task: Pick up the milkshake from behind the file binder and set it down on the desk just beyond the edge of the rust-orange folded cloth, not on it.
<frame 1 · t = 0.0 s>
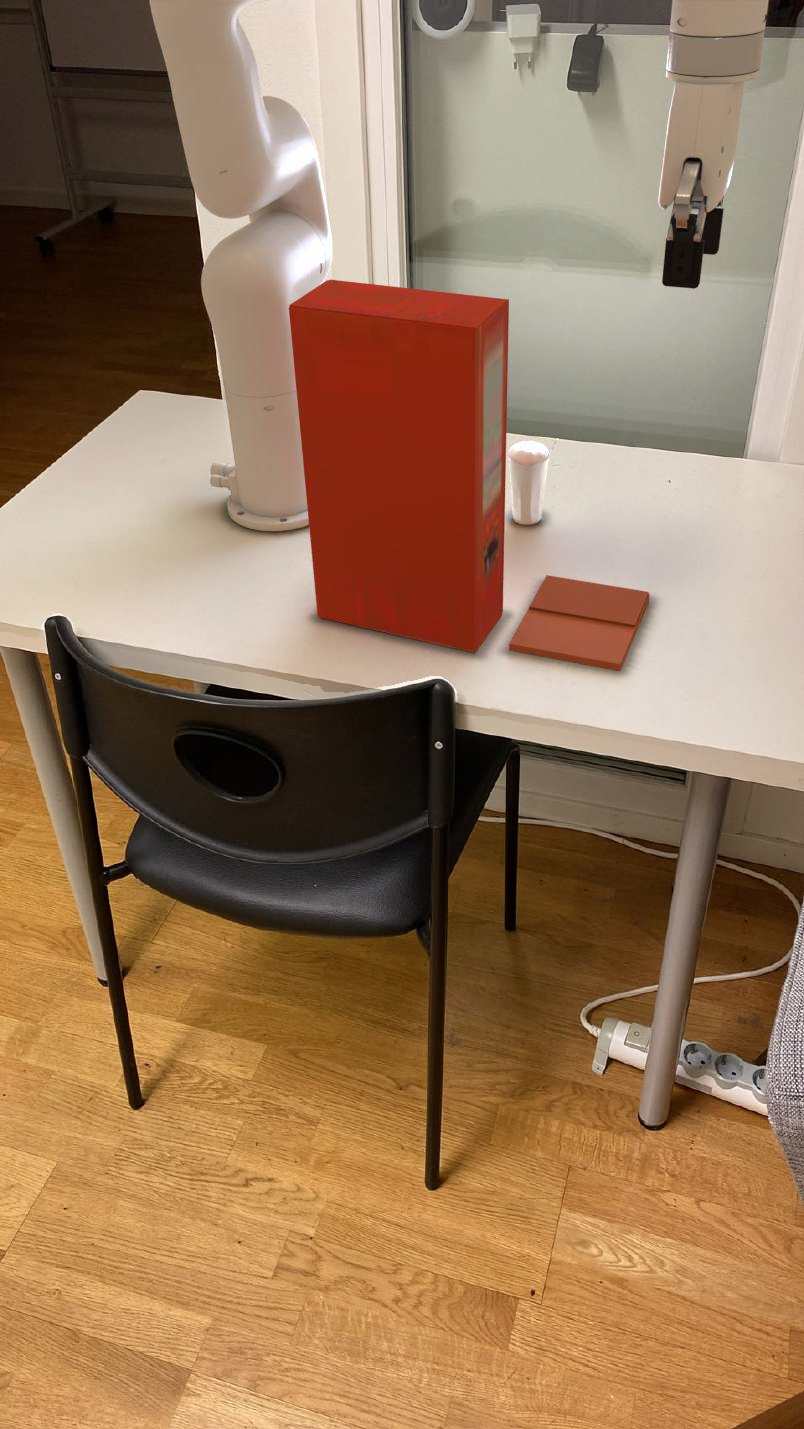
hand: (690, 269, 107), 31 cm above the table, tool pointing down, fingers open, 9 cm apart
cloth: (580, 624, 118), on the table
milkshake: (530, 520, 136), on the table
file binder: (410, 617, 121), on the table
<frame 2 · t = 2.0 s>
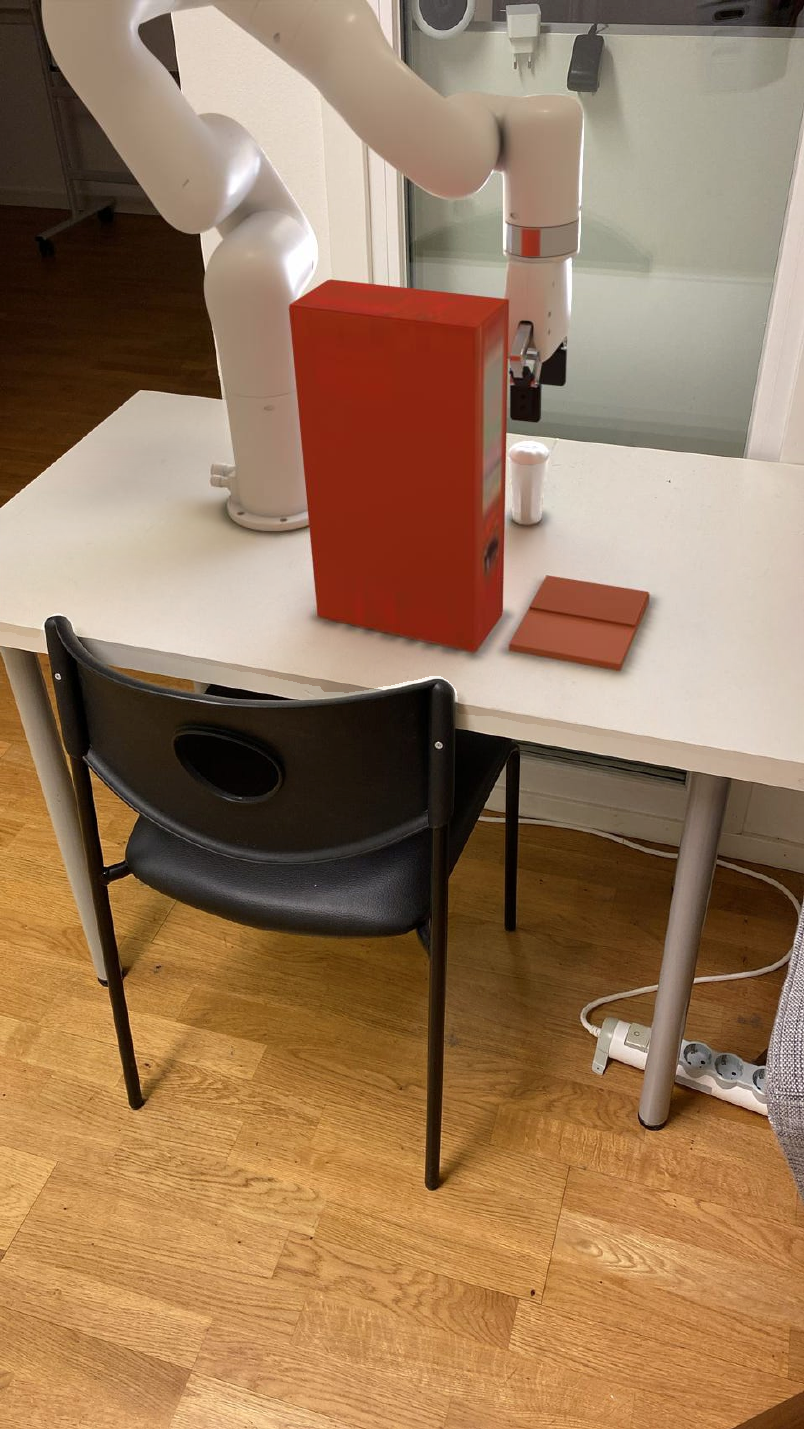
hand: (538, 401, 127), 14 cm above the table, tool pointing down, fingers open, 9 cm apart
nothing on the table moved.
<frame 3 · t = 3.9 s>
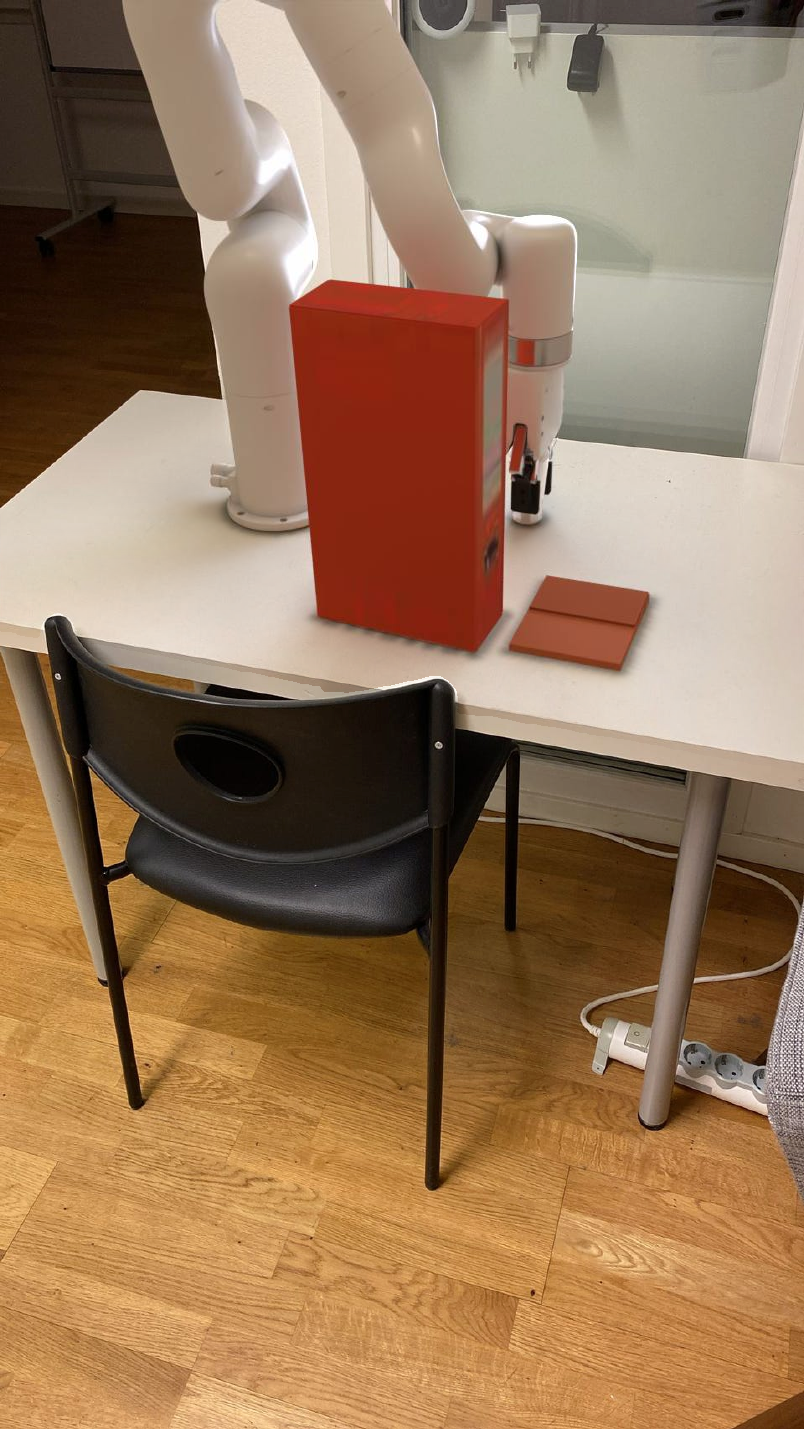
hand: (531, 500, 134), 2 cm above the table, tool pointing down, fingers closed on milkshake, 4 cm apart
milkshake: (530, 520, 135), on the table, touching gripper
everything else where it was.
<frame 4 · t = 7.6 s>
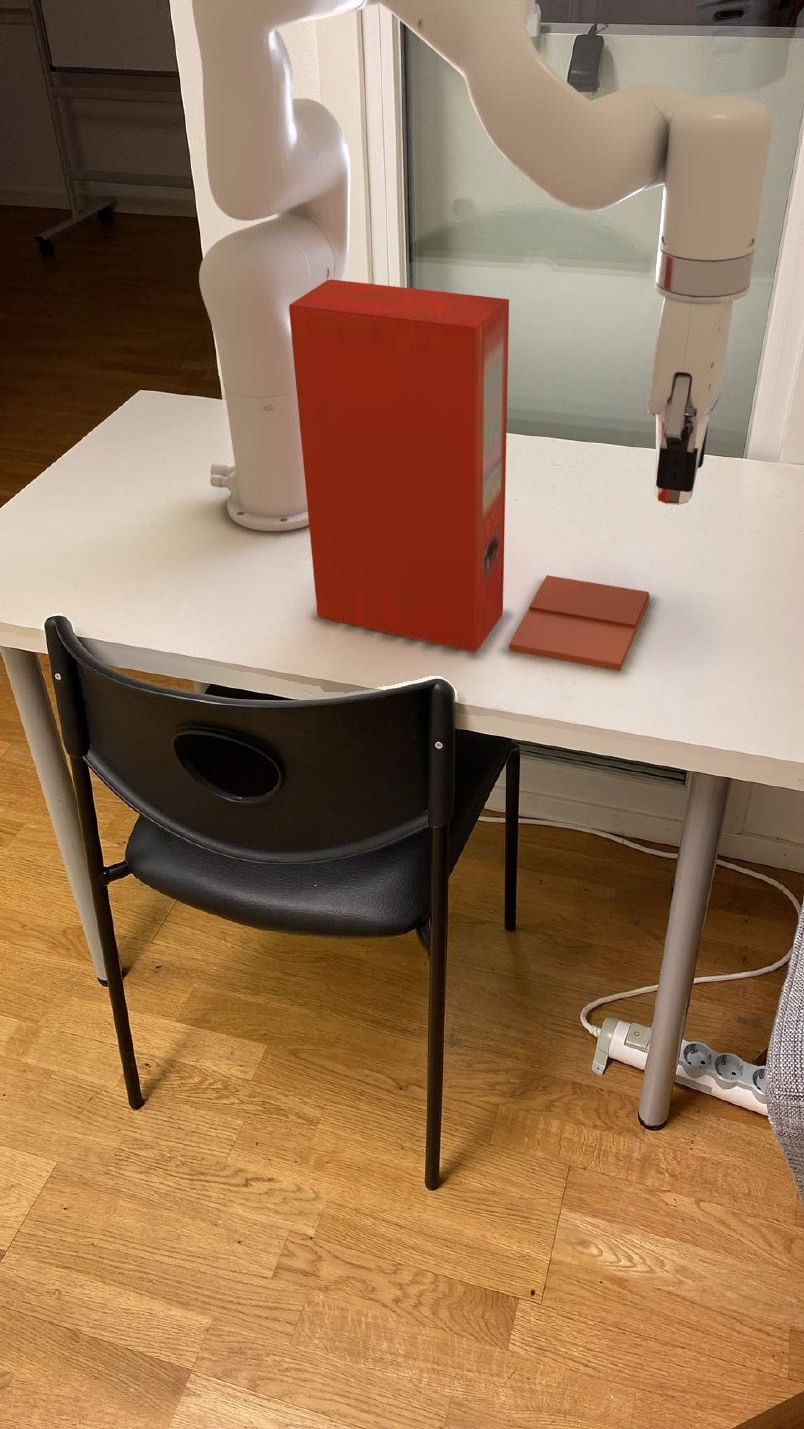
hand: (679, 474, 106), 17 cm above the table, tool pointing down, fingers closed on milkshake, 4 cm apart
milkshake: (677, 499, 108), point 14 cm above the table, touching gripper
everything else where it was.
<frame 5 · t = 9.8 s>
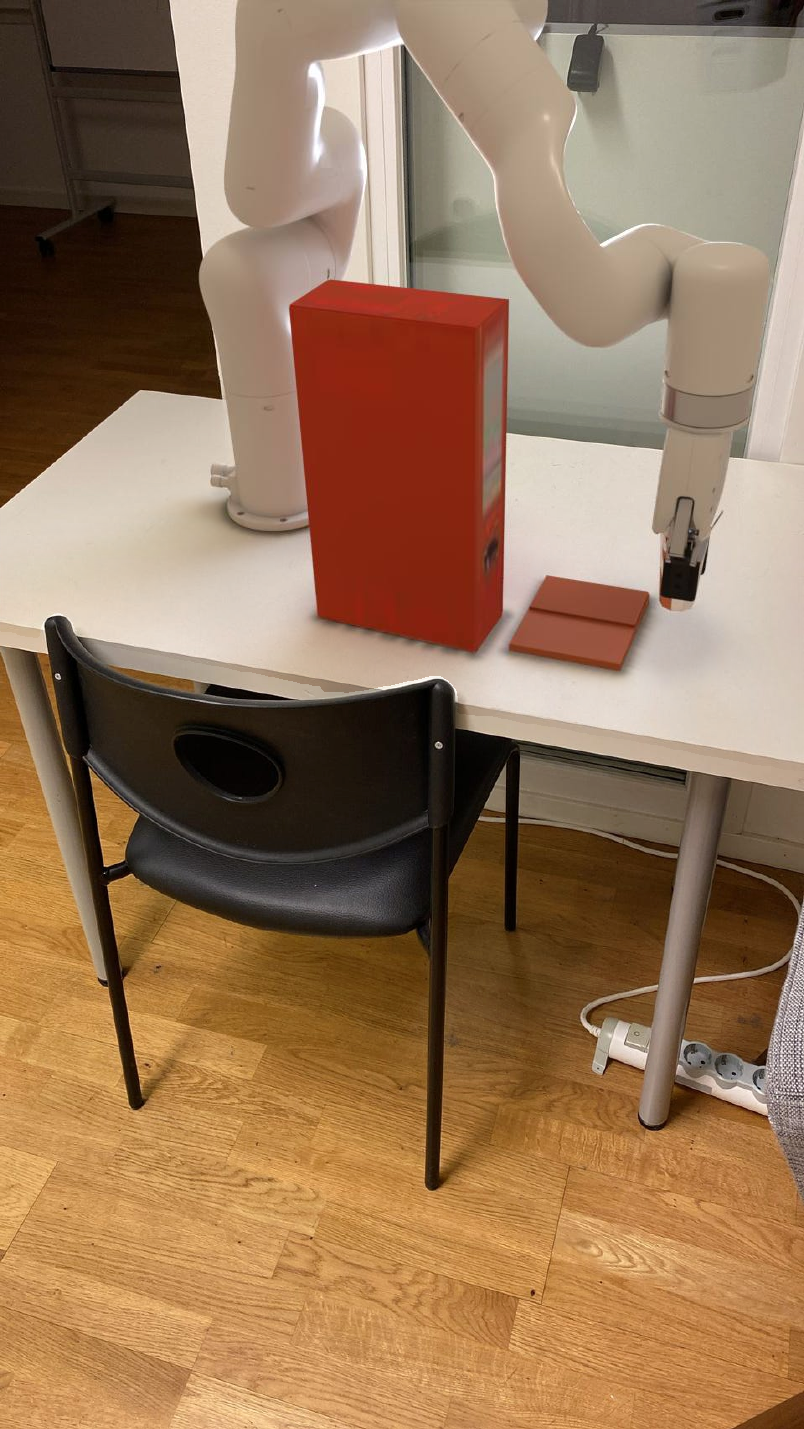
hand: (682, 582, 111), 7 cm above the table, tool pointing down, fingers closed on milkshake, 4 cm apart
milkshake: (680, 605, 112), point 4 cm above the table, touching gripper
everything else where it was.
when the fingers open (2 cm above the table, at t = 11.2 s): milkshake stays where it is, on the table.
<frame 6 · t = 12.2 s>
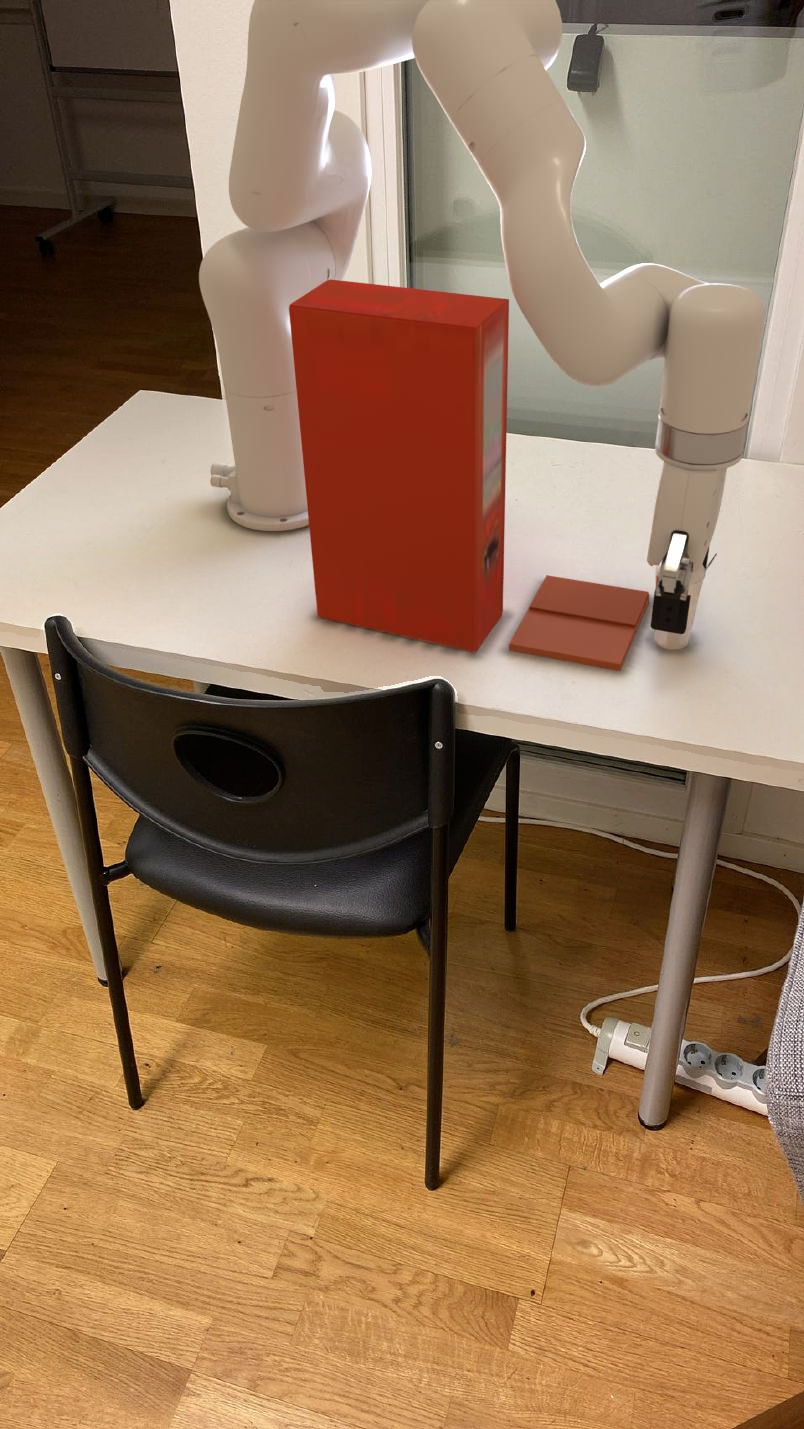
hand: (678, 602, 112), 4 cm above the table, tool pointing down, fingers open, 9 cm apart
milkshake: (675, 643, 115), on the table
everything else where it was.
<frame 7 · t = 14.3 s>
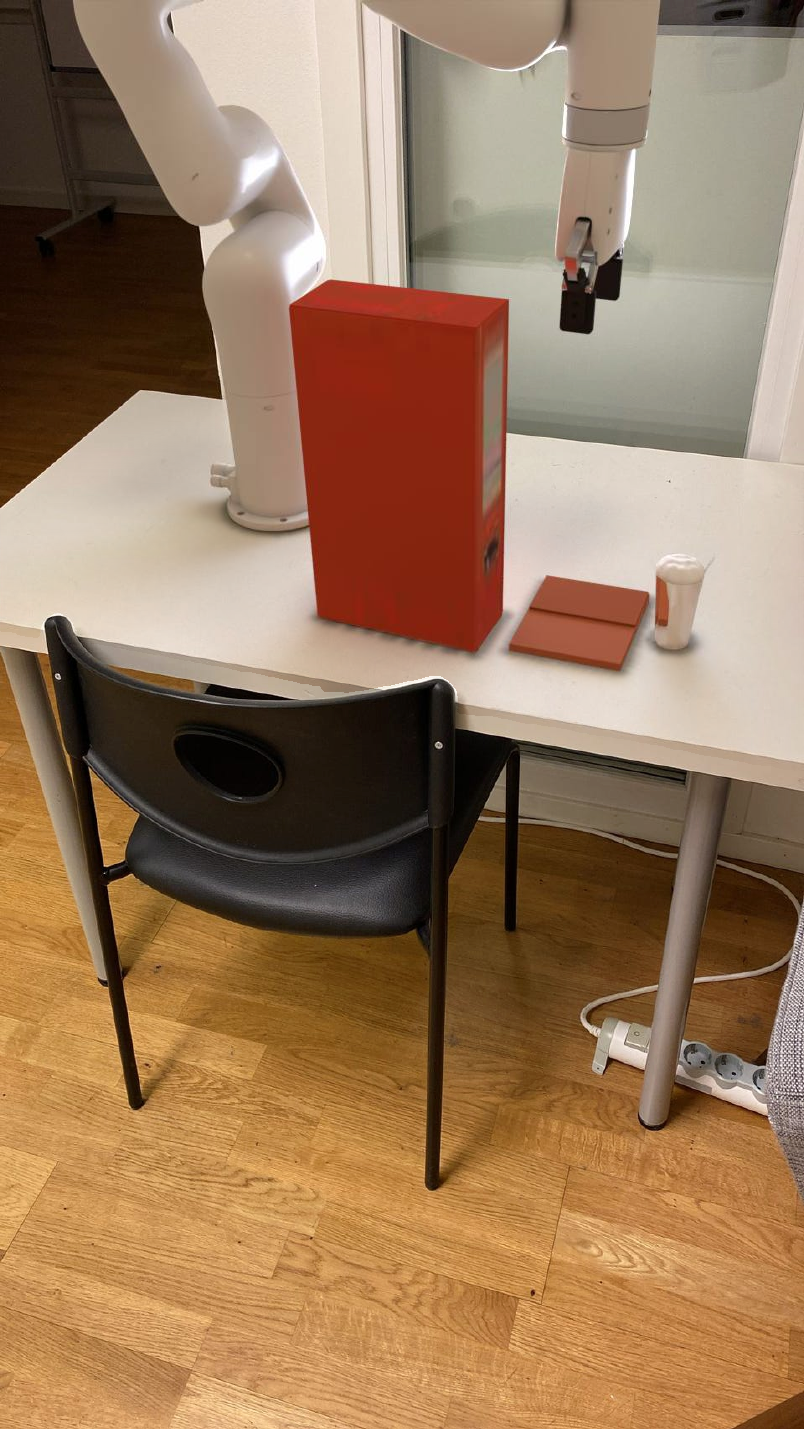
hand: (590, 314, 116), 25 cm above the table, tool pointing down, fingers open, 9 cm apart
nothing on the table moved.
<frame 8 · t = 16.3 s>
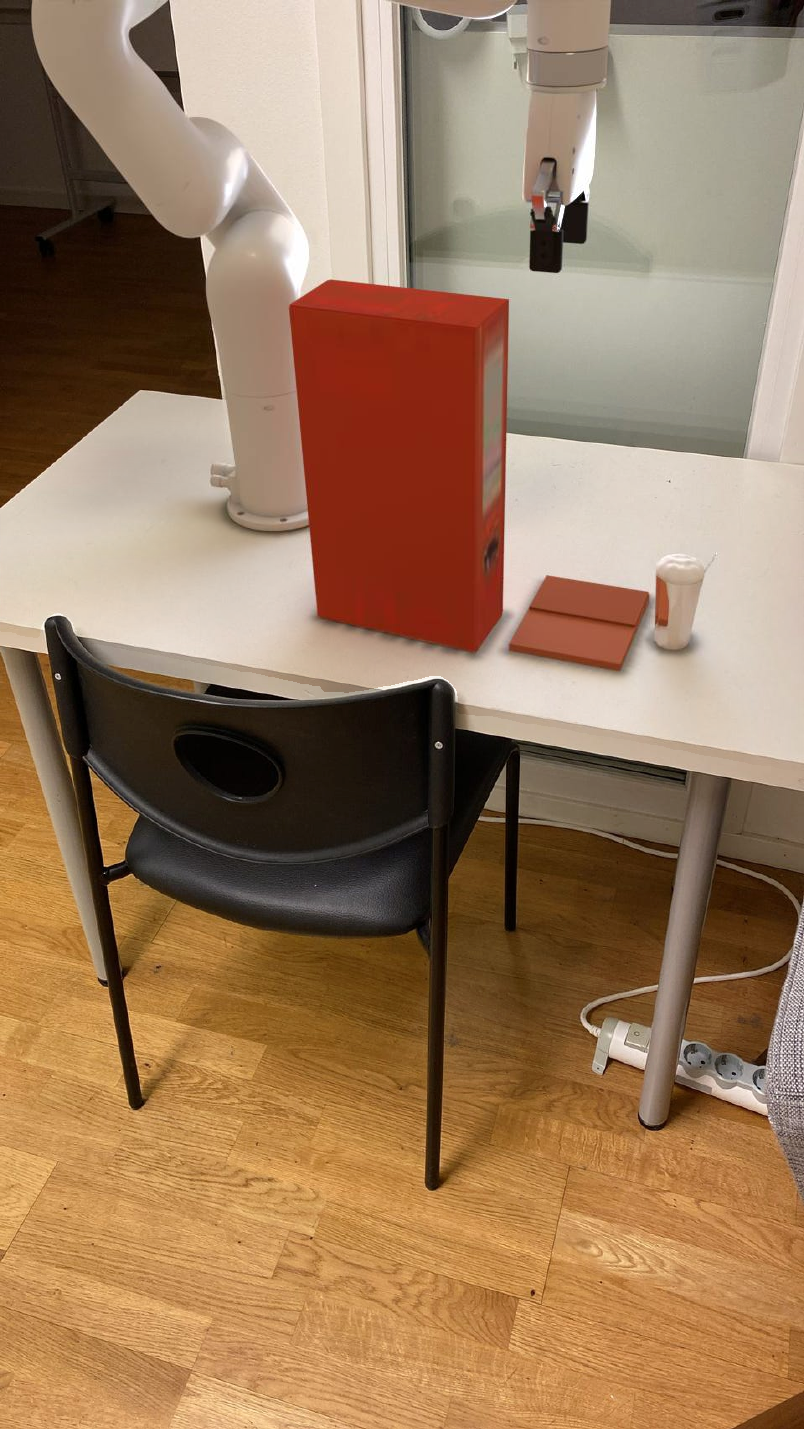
hand: (558, 256, 121), 28 cm above the table, tool pointing down, fingers open, 9 cm apart
nothing on the table moved.
at the end: milkshake inside the target area on the table beside the cloth (1.2 cm from its centre), on the table; milkshake tilted 0°; the gripper is holding nothing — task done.
